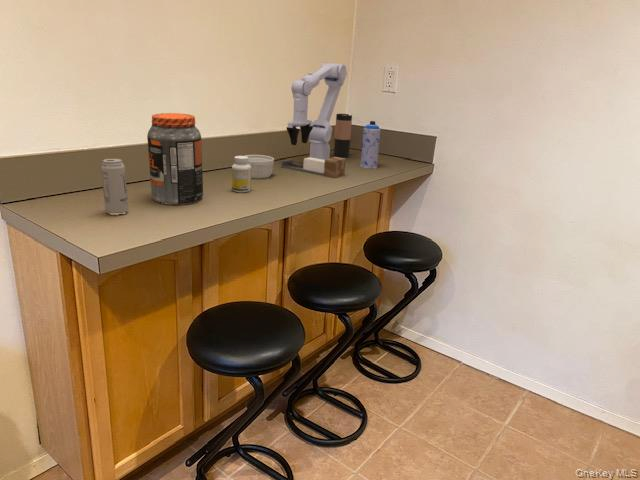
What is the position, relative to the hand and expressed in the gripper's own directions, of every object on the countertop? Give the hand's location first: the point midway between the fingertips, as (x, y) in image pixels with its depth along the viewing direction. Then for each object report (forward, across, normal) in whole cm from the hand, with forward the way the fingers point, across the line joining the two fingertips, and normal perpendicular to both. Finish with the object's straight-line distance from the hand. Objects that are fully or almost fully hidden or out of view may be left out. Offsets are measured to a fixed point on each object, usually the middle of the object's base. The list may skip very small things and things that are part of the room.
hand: (299, 143), depth 204 cm
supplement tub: (+10, -68, -2) cm, 69 cm away
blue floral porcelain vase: (+10, +25, -21) cm, 34 cm away
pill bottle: (+10, -46, -9) cm, 48 cm away
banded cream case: (+10, -2, -13) cm, 16 cm away
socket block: (+10, -2, -20) cm, 22 cm away
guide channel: (+10, -2, -6) cm, 12 cm away
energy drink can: (+10, -89, -1) cm, 90 cm away
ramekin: (+10, -25, +2) cm, 27 cm away
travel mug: (+10, +36, 0) cm, 37 cm away
